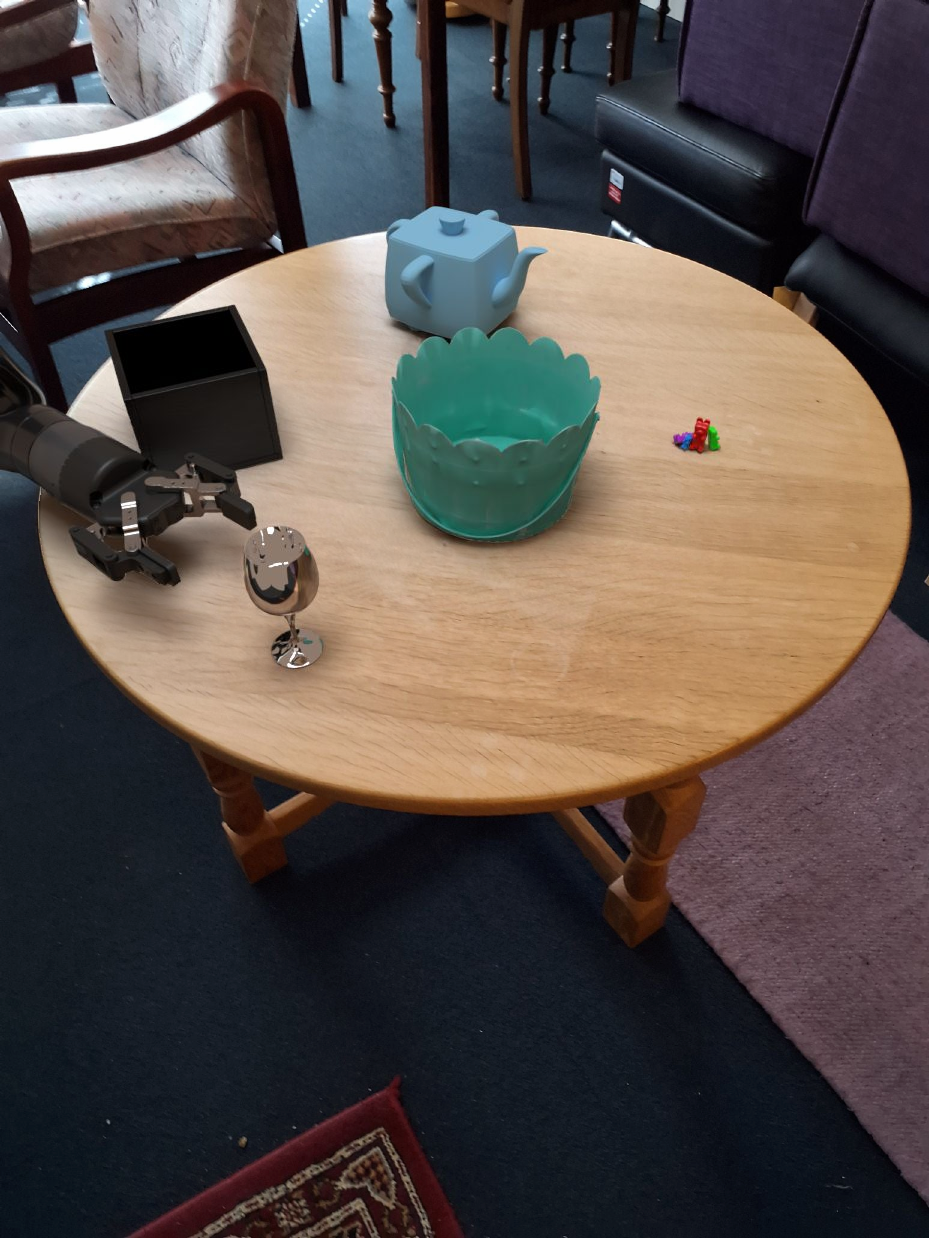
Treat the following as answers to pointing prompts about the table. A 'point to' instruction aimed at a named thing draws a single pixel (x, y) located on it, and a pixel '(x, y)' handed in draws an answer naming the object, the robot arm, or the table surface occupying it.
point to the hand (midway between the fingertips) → (215, 547)
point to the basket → (492, 432)
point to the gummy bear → (699, 436)
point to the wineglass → (284, 589)
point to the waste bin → (196, 389)
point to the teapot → (454, 271)
